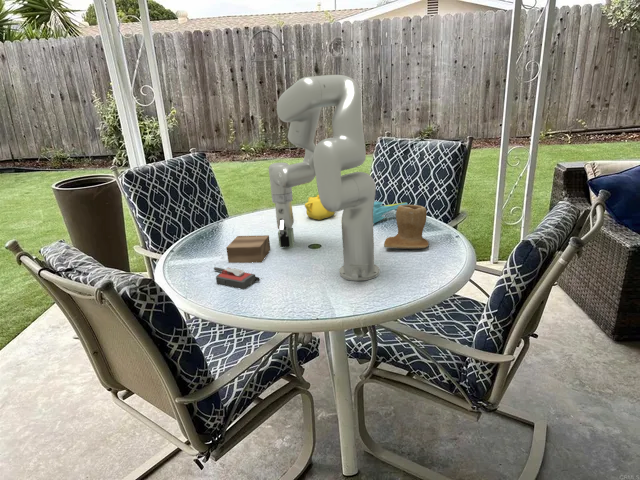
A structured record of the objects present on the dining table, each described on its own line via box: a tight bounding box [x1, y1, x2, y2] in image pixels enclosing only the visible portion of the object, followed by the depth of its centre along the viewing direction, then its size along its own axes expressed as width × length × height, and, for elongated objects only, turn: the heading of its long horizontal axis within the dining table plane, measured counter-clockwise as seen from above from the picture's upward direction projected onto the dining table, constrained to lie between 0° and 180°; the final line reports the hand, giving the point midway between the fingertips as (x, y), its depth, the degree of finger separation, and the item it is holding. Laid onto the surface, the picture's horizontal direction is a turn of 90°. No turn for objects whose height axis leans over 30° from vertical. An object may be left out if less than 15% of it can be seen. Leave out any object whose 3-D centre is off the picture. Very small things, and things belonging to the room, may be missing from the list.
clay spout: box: [383, 204, 430, 250], centre depth 155 cm, size 15×12×15 cm
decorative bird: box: [373, 200, 409, 225], centre depth 183 cm, size 14×30×9 cm, turn 129°
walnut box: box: [225, 234, 271, 264], centre depth 158 cm, size 12×12×6 cm
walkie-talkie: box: [213, 266, 260, 290], centre depth 140 cm, size 9×4×20 cm
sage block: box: [277, 227, 295, 248], centre depth 166 cm, size 5×5×6 cm
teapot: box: [304, 194, 336, 221], centre depth 197 cm, size 14×13×10 cm
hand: (286, 242), depth 167 cm, fingers open, 6 cm apart
